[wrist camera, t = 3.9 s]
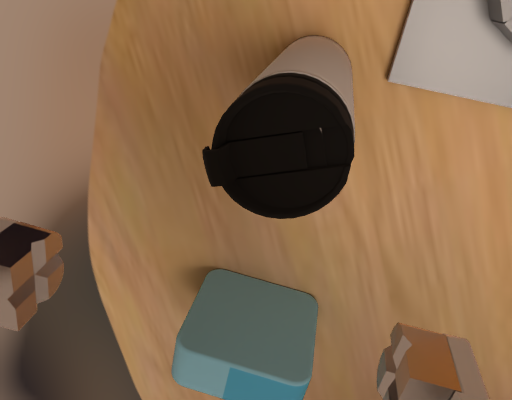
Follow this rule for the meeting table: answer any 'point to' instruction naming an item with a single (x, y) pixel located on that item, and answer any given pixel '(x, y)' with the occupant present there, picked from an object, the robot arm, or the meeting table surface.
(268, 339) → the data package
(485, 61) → the mug holder
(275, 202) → the travel mug
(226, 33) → the meeting table surface
